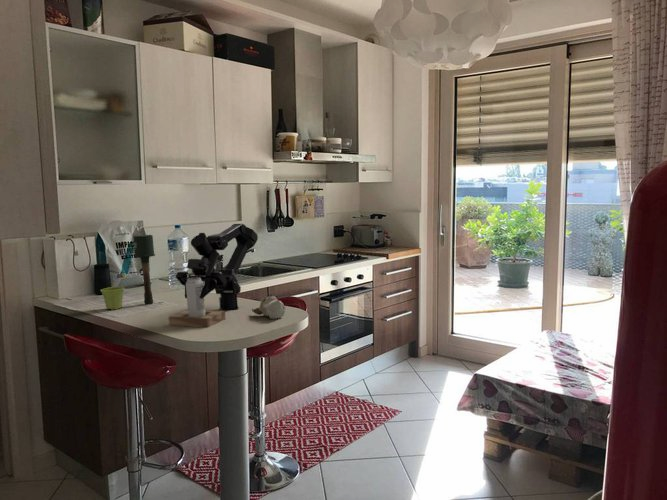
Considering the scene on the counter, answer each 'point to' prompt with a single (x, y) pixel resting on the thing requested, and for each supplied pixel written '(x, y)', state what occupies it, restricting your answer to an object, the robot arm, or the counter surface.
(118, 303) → the plant pot
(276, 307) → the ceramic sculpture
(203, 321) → the hole board
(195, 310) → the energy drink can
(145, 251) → the potato masher grenade
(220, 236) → the robot arm
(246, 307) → the counter surface
